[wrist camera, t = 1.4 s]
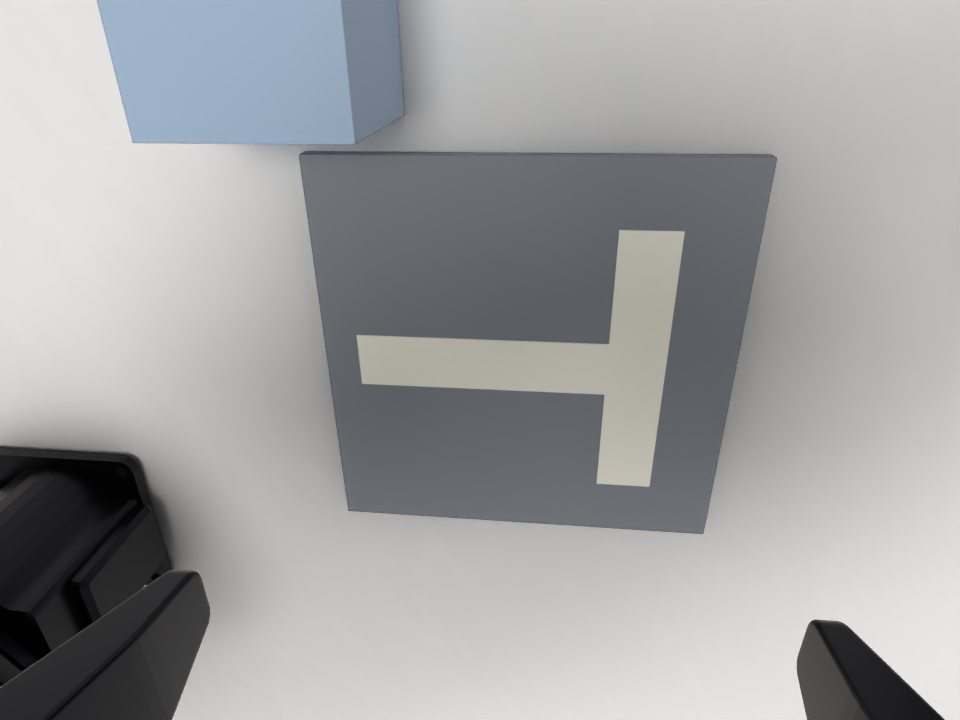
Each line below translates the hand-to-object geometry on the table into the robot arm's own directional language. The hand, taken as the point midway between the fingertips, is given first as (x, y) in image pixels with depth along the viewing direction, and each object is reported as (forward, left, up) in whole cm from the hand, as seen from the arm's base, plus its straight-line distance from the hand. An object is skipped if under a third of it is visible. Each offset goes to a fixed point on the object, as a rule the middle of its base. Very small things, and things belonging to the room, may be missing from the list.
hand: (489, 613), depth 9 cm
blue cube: (-6, +8, -12) cm, 16 cm away
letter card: (0, -2, -12) cm, 12 cm away
